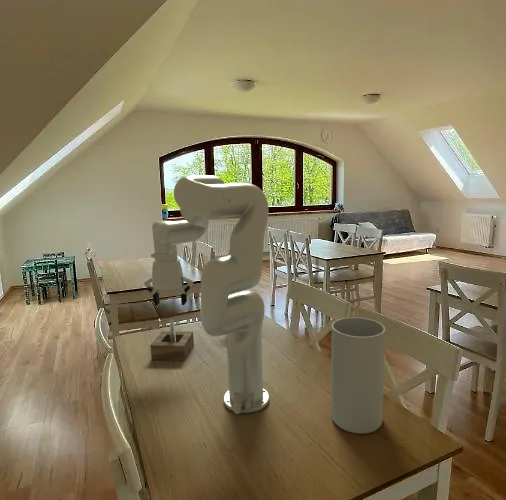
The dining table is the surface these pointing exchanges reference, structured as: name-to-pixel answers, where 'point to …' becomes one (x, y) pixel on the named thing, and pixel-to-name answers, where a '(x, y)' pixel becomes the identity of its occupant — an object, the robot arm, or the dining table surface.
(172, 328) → the screw
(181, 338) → the socket block
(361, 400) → the cylinder vase
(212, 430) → the dining table surface
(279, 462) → the dining table surface
